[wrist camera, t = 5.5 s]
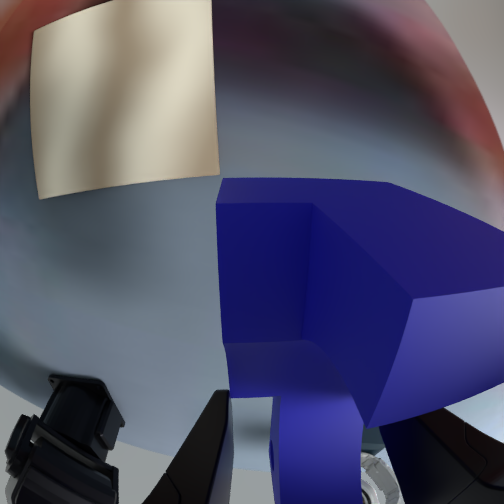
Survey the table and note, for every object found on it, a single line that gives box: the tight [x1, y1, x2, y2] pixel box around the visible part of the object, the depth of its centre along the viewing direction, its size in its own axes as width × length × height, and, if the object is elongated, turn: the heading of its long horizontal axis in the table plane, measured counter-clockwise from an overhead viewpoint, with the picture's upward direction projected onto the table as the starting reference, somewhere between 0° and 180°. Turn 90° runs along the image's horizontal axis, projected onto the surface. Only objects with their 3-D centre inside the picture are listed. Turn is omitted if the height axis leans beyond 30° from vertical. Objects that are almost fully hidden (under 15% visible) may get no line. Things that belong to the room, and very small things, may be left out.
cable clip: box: [216, 178, 504, 504], centre depth 7 cm, size 12×4×6 cm, turn 0°
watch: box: [361, 425, 402, 504], centre depth 22 cm, size 6×8×11 cm
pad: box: [30, 0, 220, 200], centre depth 14 cm, size 12×12×1 cm
